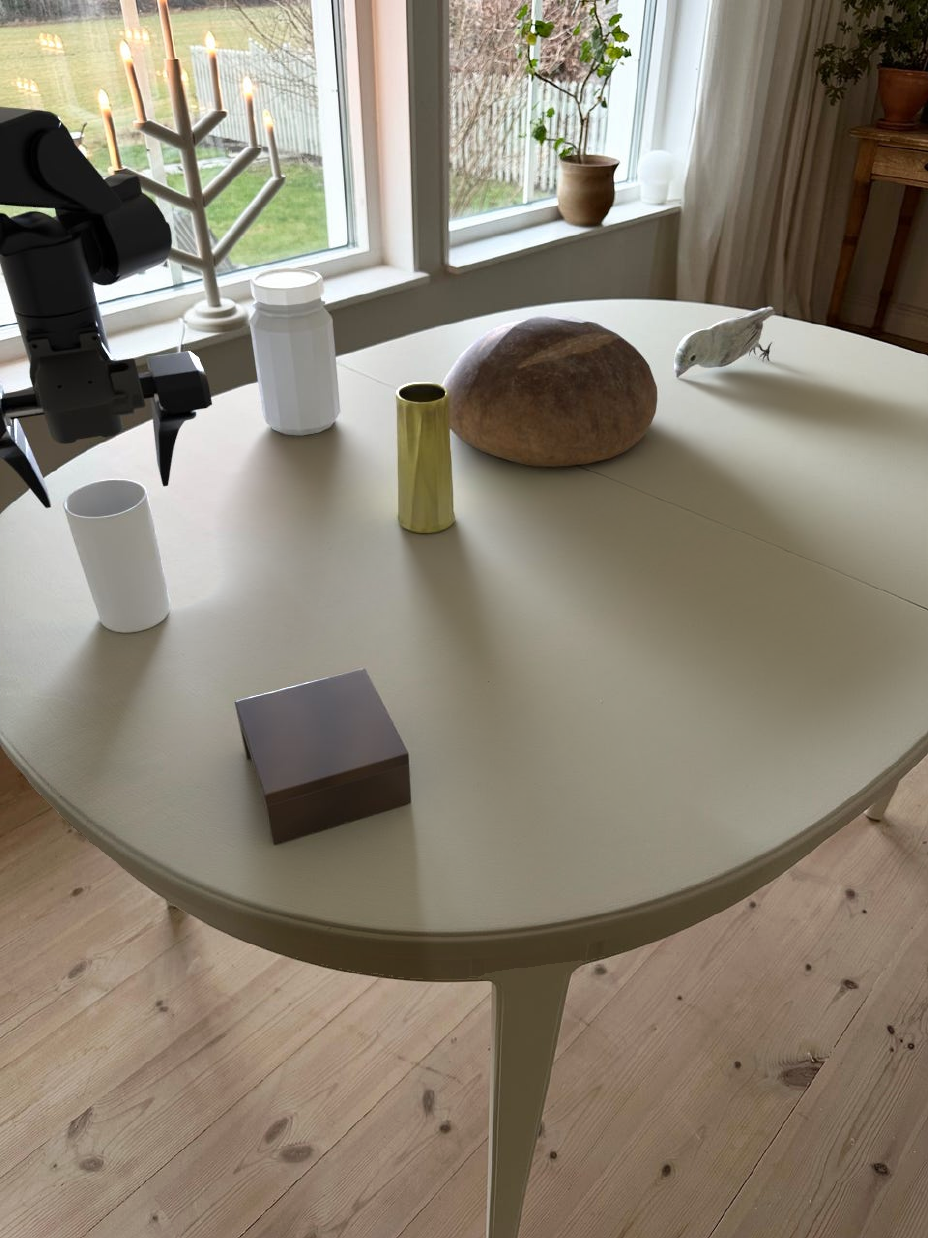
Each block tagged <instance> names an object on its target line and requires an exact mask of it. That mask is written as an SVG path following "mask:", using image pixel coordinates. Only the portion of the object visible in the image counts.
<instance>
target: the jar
mask: <svg viewBox="0 0 928 1238" xmlns="http://www.w3.org/2000/svg"><path fill="white" fill-rule="evenodd" d="M249 283H250V285H249V286H250V292H251V296H252V298H253V299H254V302H253V303H252V307H253V308H254V312H253V314H252V316H251V317H250V318H249V327H250V335H251V336H250V337H251V343H252V348H253V355H254V364H255V369H256V378H257V385H258V392H259V398H260V399H259V400H260V405H261V412H262V413H261V414H262V417H263V419H264V421H265V423H266V424H267V425H268V426H269V427H270V428H271V429H272V430H273V431H274V432H275V431H276V432H278V433H281V434H283V435H286V436H287V435H288V436H302V437H303V436H307V435H313V434H314V435H315V434H319V433H321V432H323V431H326V430H328V429H330V428H331V427H332V426H333V424H334V423H335V421H336V420H337V418H338V417H339V415H340V413H341V403H340V392H339V380H338V371H337V370H338V369H337V357H336V356H337V355H336V345H335V335H334V334H335V333H334V332H335V331H334V323H333V322H334V321H333V317H332V315H331V314H330V313H329V312H328V310H327V309H326V308H325V307H324V306H325V305H326V300H325V299H324V298H323V297H322V295H324V293H325V289H324V288H325V286H324V278H323V276H322V275H321V274H320V273H319V272H318V271H315V270H311V269H308V268H307V269H306V268H300V267H297V268H296V267H292V268H291V267H283V268H275V269H268V270H265V271H262V272H259V273H256V274H255V275H254V276H253V277H252V278H251V279H249Z"/></svg>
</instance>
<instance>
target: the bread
mask: <svg viewBox="0 0 928 1238" xmlns="http://www.w3.org/2000/svg"><path fill="white" fill-rule="evenodd" d="M441 385H442V386H444V387H445V388H447V390H448V391H449V395H450V408H449V413H450V431H451V432H452V433H453V434H454V435H455V436H457V437H458V438H459V439H460V440H461V441H463V442H464V443H466V444H468V445H469V446H471V447H473V448H475V449H477V450H479V451H480V452H483V453H485V454H489V455H491V456H494V457H497V458H500V459H504V460H506V461H510V462H513V463H517V464H522V465H526V466H532V467H539V468H541V467H543V468H544V467H545V468H551V467H552V468H558V467H571V466H572V467H573V466H580V465H588V464H593V463H596V462H600V461H603V460H608V459H612V458H614V457H616V456H618V455H620V454H623V453H625V452H627V451H628V450H630V449H631V448H632V447H633V446H634V445H636V444H638V443H639V441H640V440H641V439H642V438H643V437H644V435H645V434H646V433H647V432H648V430H649V428H650V426H651V425H652V423H653V421H654V418H655V416H656V413H657V405H658V386H657V384H656V381H655V378H654V374H653V372H652V369H651V367H650V364H649V363H648V362H647V360H646V359H645V357H644V356H643V355H642V354H641V353H640V352H639V350H638V349H637V348H636V347H635V346H633V345H632V343H630V342H629V341H627V339H624V338H623V337H622V336H621V335H620V334H618V333H617V332H615V331H612V330H611V329H608V328H607V327H604V326H603V325H601V324H599V323H597V322H593V321H590V320H589V321H588V320H583V319H582V318H577V317H574V316H566V317H559V318H556V317H551V316H536V317H531V318H528V319H523V320H518V321H512V322H507V323H504V324H501V325H499V326H496V327H493V328H491V329H490V330H488V331H486V332H484V333H483V334H481V336H480V337H478V338H477V339H476V340H474V341H473V342H472V343H471V344H470V345H469V346H468V347H467V348H466V349H465V350H464V351H463V352H462V353H461V354H460V355H459V357H458V358H457V360H456V361H455V362H454V364H453V365H452V367H451V368H450V370H449V372H448V373H447V374H446V376H445V377H444V380H443V382H442V384H441Z"/></svg>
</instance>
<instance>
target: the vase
mask: <svg viewBox="0 0 928 1238" xmlns="http://www.w3.org/2000/svg"><path fill="white" fill-rule="evenodd" d="M395 402H396V435H397V437H396V441H397V443H396V444H397V446H396V447H397V507H398V508H397V517H396V518H397V521H398V523H399V525H400V526H401V527H402V529H405V530H407V531H409V532H412V533H418V534H434V533H439V532H443V531H444V530H446V529H448V528H450V527H451V526H452V525H453V524H454V522H455V521H456V514H455V510H454V509H455V508H454V481H453V467H452V466H453V463H452V451H451V429H450V413H449V408H450V395H449V391H448V390H447V388H445V387H444V386H442V384H439V383H435V382H425V381H423V382H422V381H421V382H411V383H407V384H404V385H402V386H400V387H399V388H398V389H396V392H395Z"/></svg>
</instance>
